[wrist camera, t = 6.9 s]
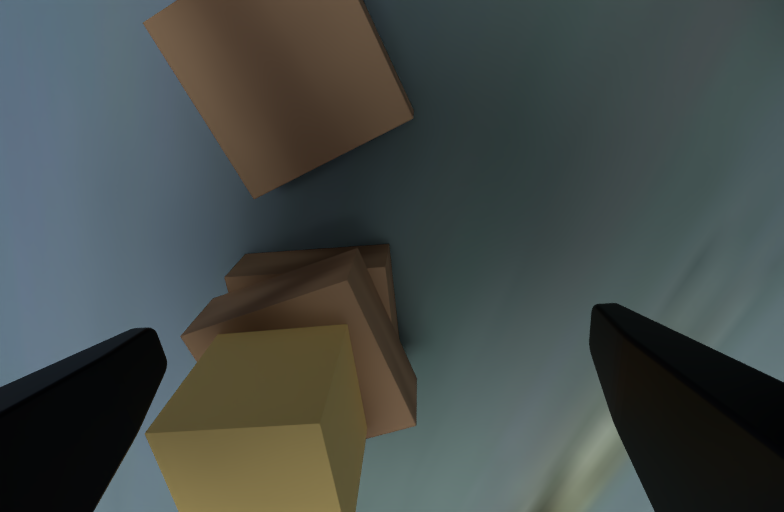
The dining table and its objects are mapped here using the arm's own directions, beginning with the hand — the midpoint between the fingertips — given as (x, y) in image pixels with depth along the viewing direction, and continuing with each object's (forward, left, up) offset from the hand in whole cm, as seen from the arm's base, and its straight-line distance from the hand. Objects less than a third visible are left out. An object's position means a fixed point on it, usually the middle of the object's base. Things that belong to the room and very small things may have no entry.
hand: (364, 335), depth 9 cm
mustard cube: (+4, +6, -6) cm, 10 cm away
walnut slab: (+3, -5, -12) cm, 14 cm away
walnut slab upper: (+4, +6, -9) cm, 12 cm away
